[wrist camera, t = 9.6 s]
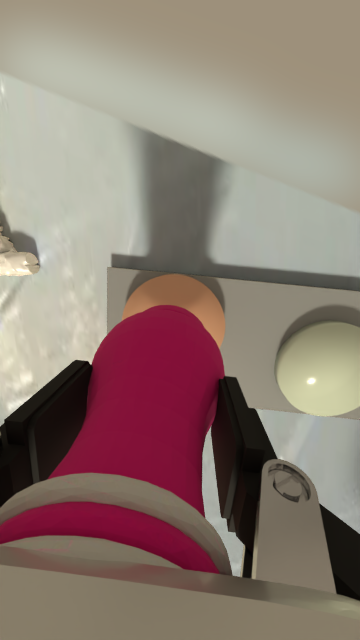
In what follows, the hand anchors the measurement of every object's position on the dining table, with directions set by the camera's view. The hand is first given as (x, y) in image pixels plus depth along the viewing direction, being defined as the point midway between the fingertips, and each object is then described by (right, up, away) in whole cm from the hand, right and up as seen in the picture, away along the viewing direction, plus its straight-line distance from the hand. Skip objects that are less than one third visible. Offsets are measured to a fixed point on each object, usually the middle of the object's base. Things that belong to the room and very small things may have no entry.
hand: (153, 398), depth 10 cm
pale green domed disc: (+16, -1, +13) cm, 21 cm away
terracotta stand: (+1, +3, +12) cm, 13 cm away
